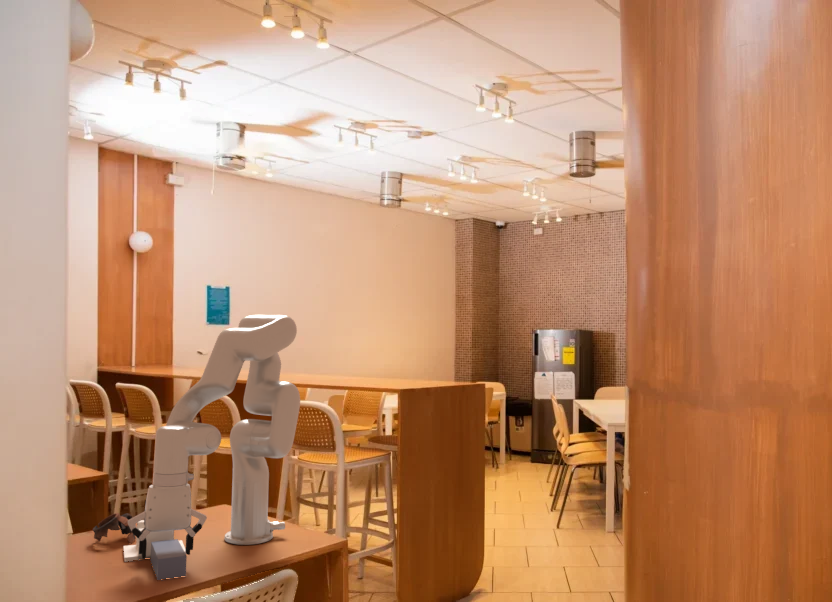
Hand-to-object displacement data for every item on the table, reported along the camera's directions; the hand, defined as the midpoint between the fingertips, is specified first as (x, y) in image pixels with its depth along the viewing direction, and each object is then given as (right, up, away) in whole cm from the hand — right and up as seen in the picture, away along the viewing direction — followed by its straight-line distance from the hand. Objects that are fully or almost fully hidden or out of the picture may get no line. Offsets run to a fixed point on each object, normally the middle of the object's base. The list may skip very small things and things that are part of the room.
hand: (165, 555), depth 161 cm
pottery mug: (-21, -5, +22) cm, 30 cm away
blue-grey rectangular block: (0, -4, 0) cm, 4 cm away
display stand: (-7, -4, +12) cm, 15 cm away
